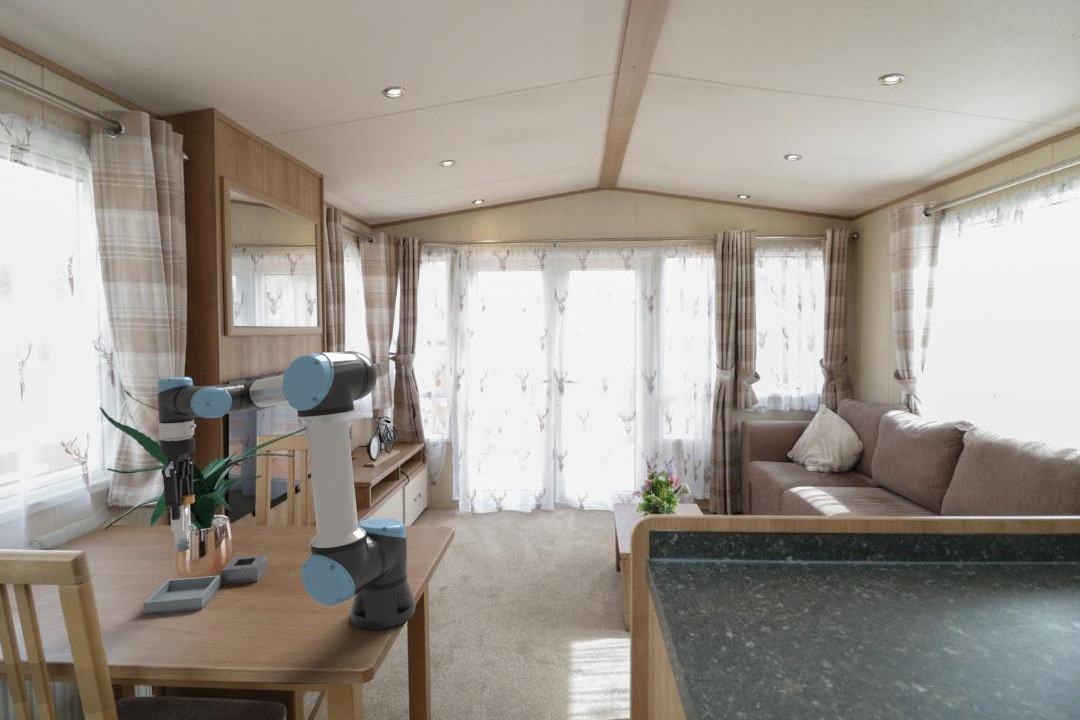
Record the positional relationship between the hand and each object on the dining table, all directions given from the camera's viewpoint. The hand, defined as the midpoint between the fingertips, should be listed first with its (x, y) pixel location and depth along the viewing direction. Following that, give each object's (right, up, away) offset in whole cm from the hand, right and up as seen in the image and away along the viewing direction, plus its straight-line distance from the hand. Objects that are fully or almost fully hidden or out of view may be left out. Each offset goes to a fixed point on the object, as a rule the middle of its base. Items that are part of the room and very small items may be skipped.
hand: (181, 528), depth 145 cm
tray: (0, -19, +1) cm, 19 cm away
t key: (0, -6, 0) cm, 6 cm away
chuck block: (+9, -18, +15) cm, 25 cm away
